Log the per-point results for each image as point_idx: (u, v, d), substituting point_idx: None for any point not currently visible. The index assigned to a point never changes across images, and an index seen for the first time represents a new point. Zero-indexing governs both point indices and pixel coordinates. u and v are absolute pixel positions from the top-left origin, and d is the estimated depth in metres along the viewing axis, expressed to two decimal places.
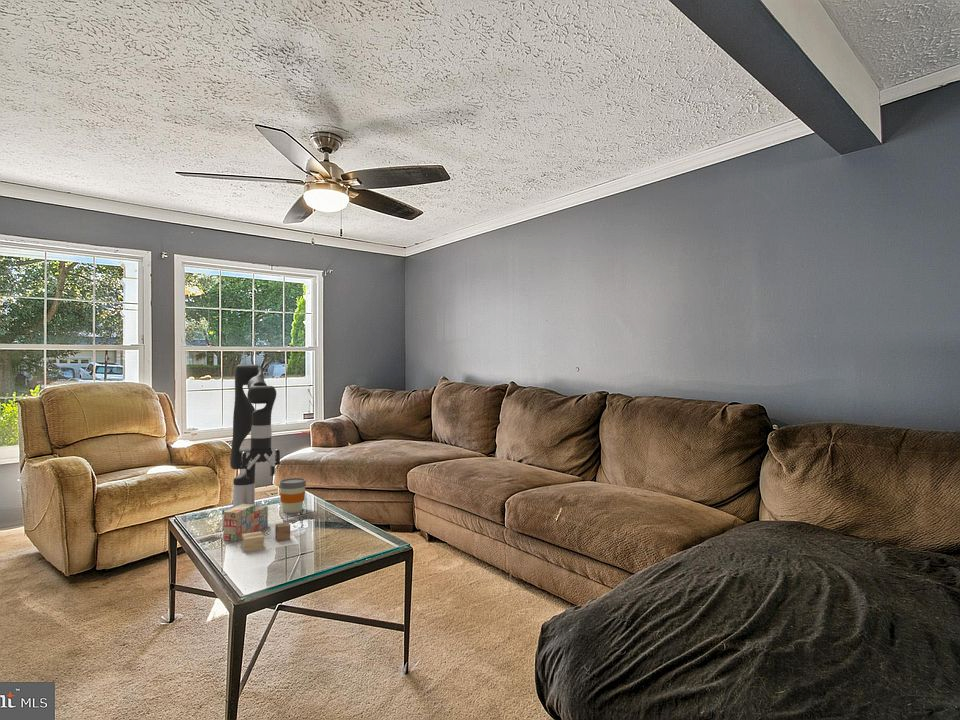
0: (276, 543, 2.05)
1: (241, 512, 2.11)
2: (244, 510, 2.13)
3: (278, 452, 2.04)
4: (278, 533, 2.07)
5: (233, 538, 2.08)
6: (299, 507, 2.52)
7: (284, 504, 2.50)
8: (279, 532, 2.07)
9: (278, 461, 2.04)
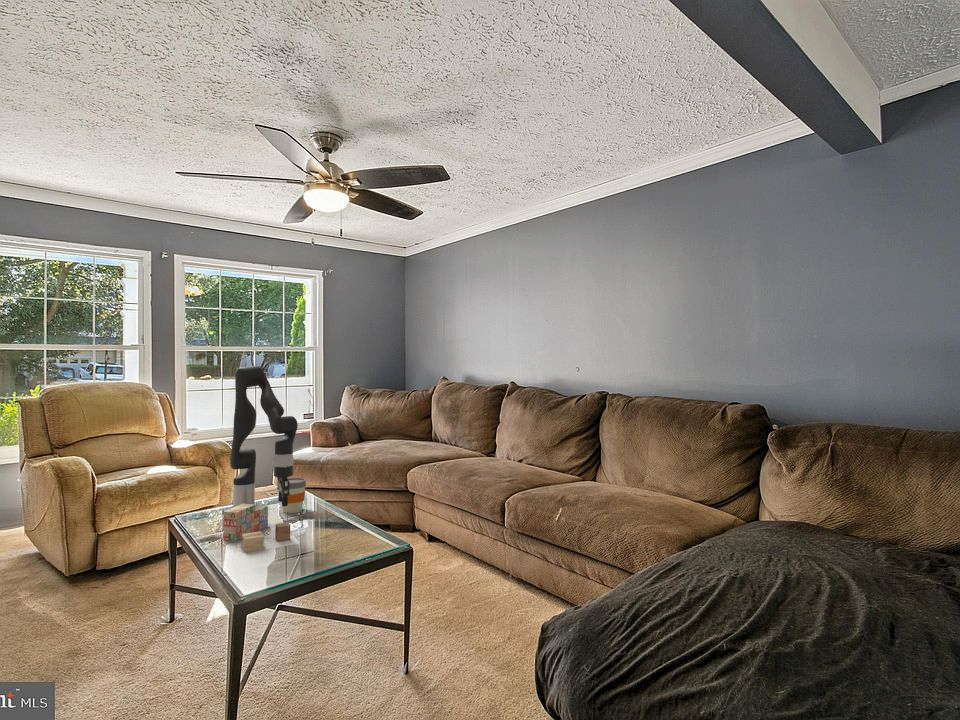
0: (276, 543, 2.05)
1: (241, 512, 2.11)
2: (244, 510, 2.13)
3: None
4: (278, 533, 2.07)
5: (233, 538, 2.09)
6: (299, 507, 2.52)
7: None
8: (279, 532, 2.07)
9: None
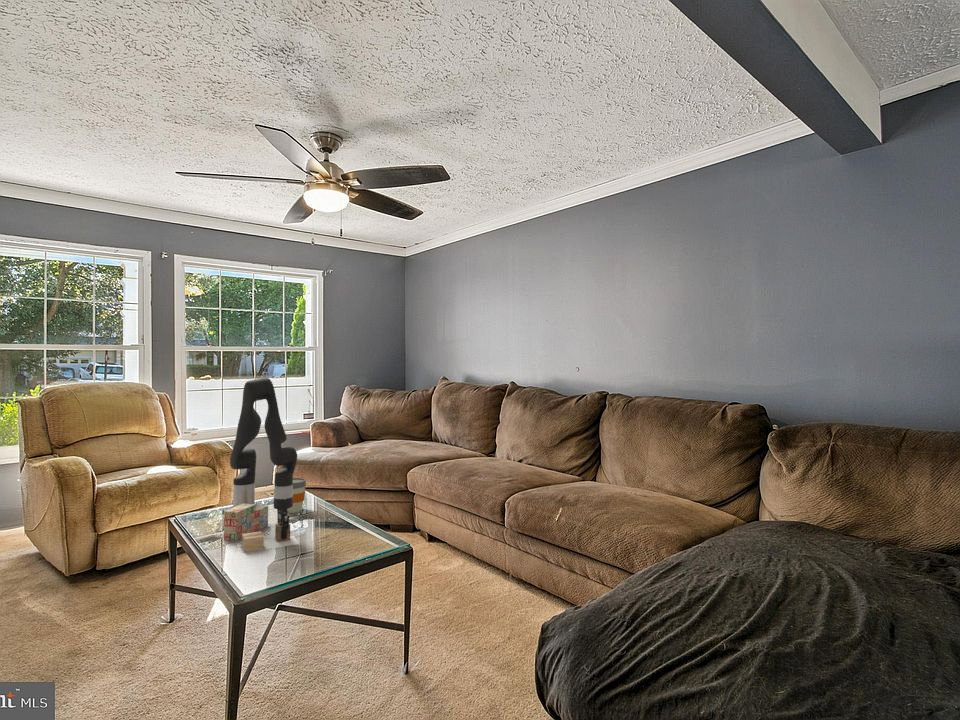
0: (276, 543, 2.05)
1: (241, 512, 2.12)
2: (244, 510, 2.13)
3: None
4: (278, 533, 2.07)
5: (233, 538, 2.09)
6: (299, 507, 2.52)
7: None
8: (279, 532, 2.07)
9: None
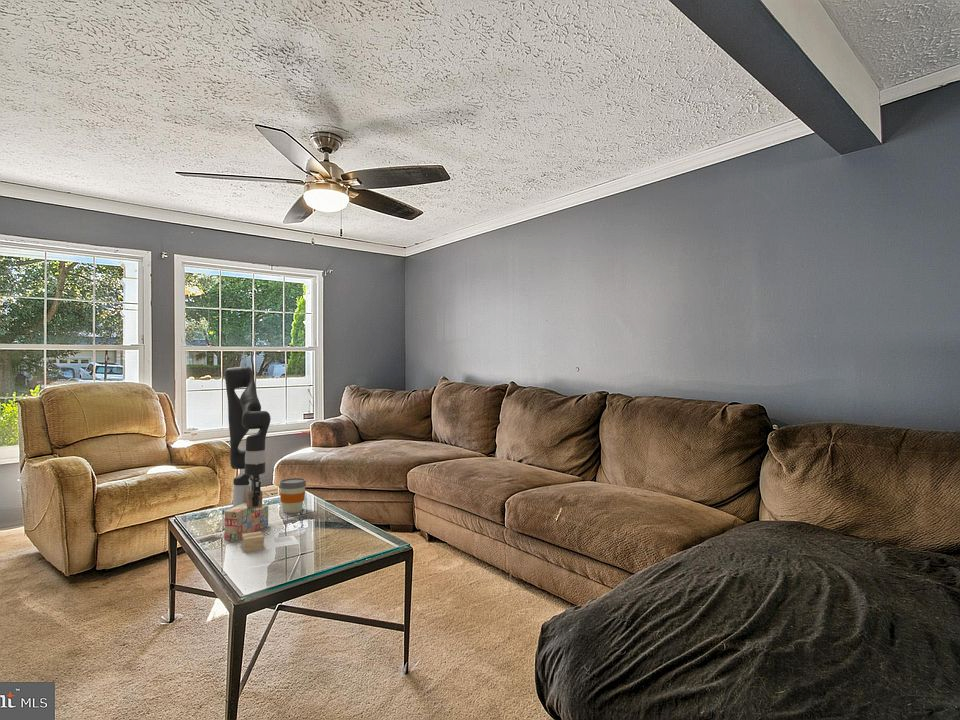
0: (276, 543, 2.05)
1: (242, 511, 2.12)
2: (245, 509, 2.14)
3: None
4: (249, 500, 1.97)
5: (234, 537, 2.09)
6: (299, 507, 2.52)
7: (284, 504, 2.50)
8: (250, 498, 1.97)
9: None
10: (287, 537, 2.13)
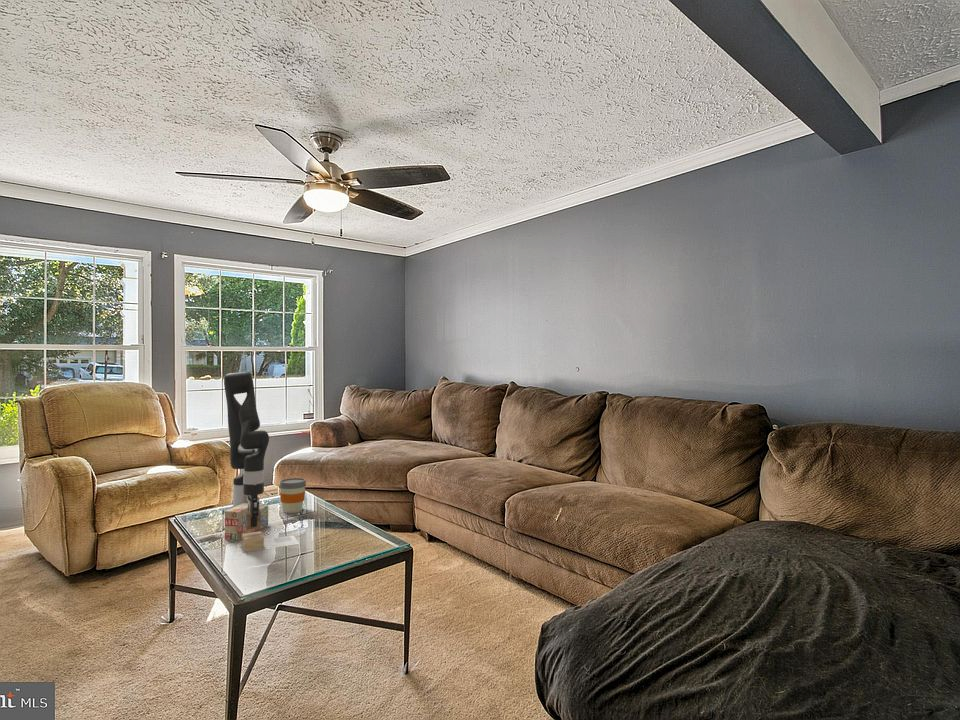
0: (276, 543, 2.05)
1: (242, 511, 2.12)
2: (245, 509, 2.14)
3: None
4: (248, 520, 1.97)
5: (234, 537, 2.09)
6: (299, 507, 2.52)
7: (284, 504, 2.50)
8: (248, 519, 1.97)
9: None
10: (287, 537, 2.13)
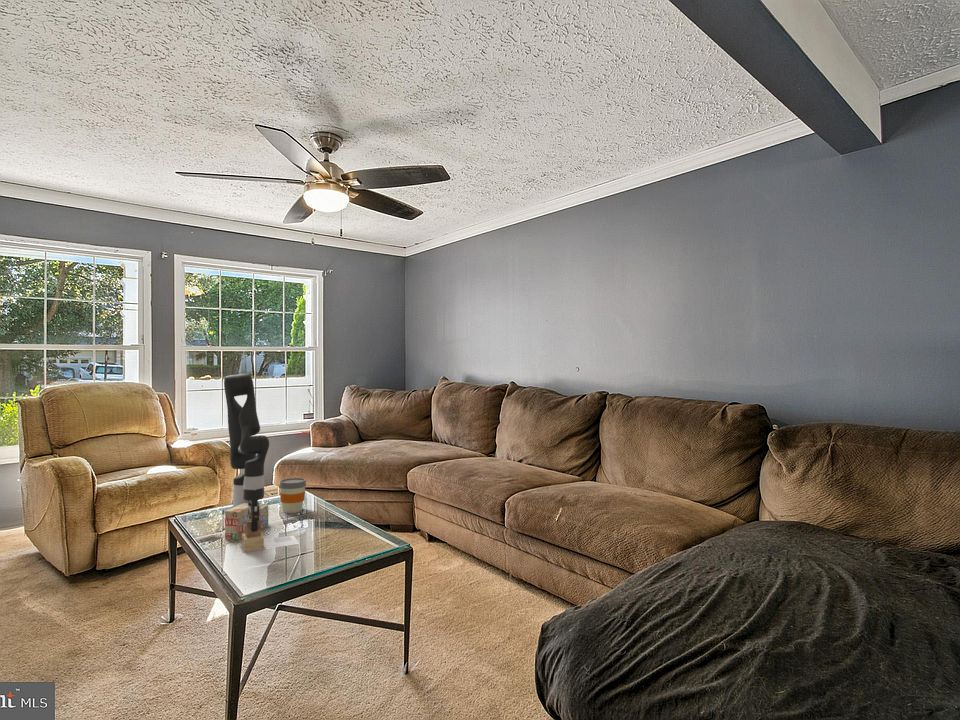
0: (276, 543, 2.05)
1: (243, 511, 2.12)
2: (245, 509, 2.14)
3: None
4: (248, 528, 1.97)
5: (235, 537, 2.10)
6: (299, 507, 2.52)
7: (284, 504, 2.50)
8: (248, 527, 1.97)
9: None
10: (287, 537, 2.13)
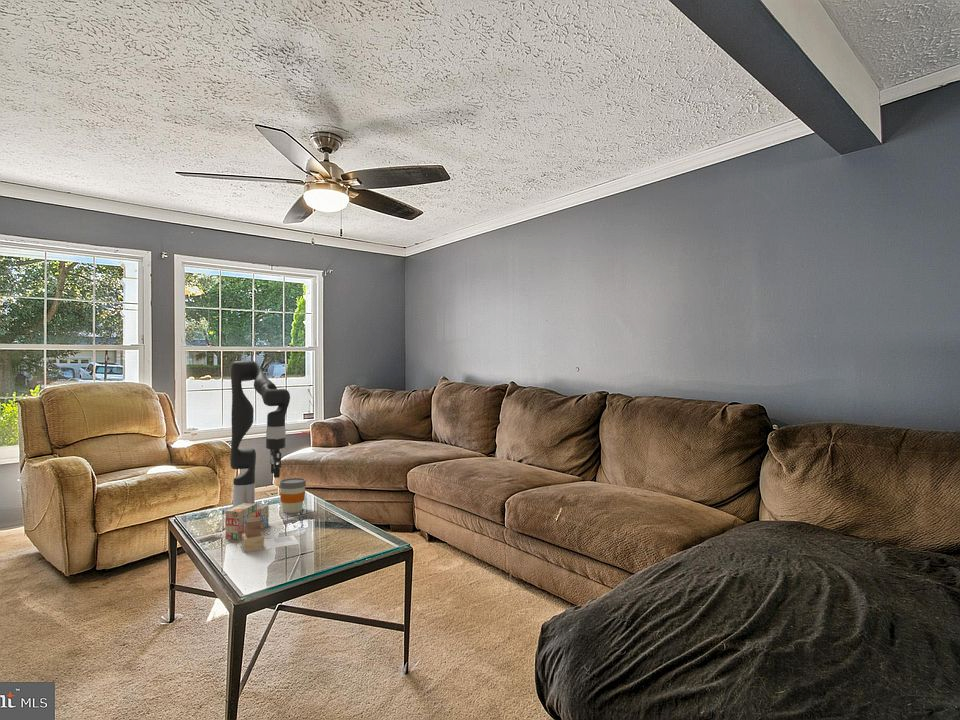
0: (276, 543, 2.05)
1: (243, 511, 2.13)
2: (246, 509, 2.14)
3: None
4: (248, 528, 1.97)
5: (235, 537, 2.10)
6: (299, 507, 2.52)
7: (284, 504, 2.50)
8: (248, 527, 1.97)
9: None
10: (287, 537, 2.13)
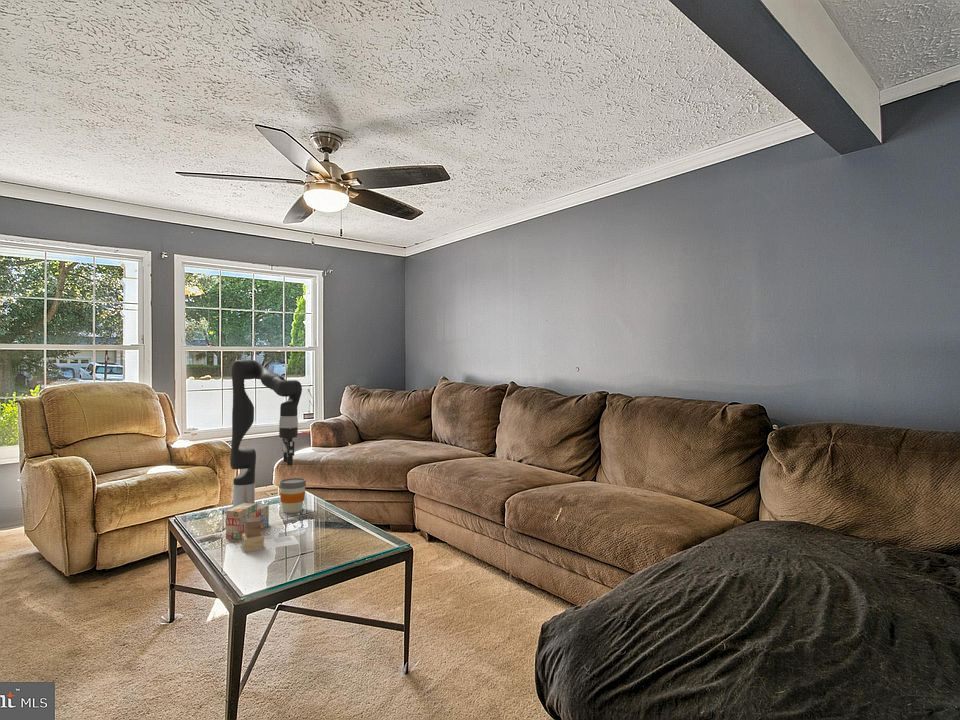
0: (276, 543, 2.05)
1: (243, 511, 2.13)
2: (246, 509, 2.15)
3: None
4: (248, 528, 1.97)
5: (236, 537, 2.10)
6: (299, 507, 2.52)
7: (284, 504, 2.50)
8: (248, 527, 1.97)
9: None
10: (287, 537, 2.13)
